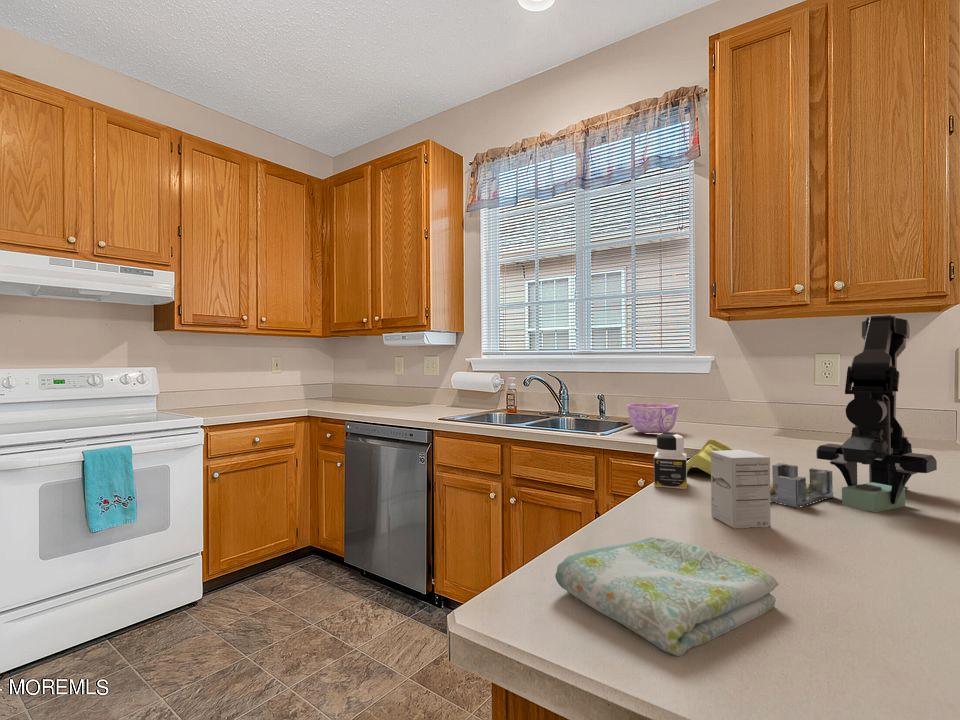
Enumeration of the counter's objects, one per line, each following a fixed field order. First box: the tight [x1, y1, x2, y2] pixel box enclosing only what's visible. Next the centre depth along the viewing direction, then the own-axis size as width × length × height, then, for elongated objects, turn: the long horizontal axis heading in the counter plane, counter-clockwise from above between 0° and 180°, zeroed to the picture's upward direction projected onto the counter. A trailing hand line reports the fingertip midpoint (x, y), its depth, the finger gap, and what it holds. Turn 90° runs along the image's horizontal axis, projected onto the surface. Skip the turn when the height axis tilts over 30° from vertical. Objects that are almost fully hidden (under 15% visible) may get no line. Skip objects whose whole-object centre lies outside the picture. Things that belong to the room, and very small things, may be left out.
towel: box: [554, 536, 779, 657], centre depth 65 cm, size 18×21×5 cm
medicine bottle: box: [653, 433, 688, 490], centre depth 124 cm, size 7×7×12 cm
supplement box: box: [710, 449, 772, 529], centre depth 95 cm, size 7×7×13 cm
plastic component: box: [687, 438, 734, 476], centre depth 138 cm, size 20×7×10 cm
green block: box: [841, 482, 906, 513], centre depth 104 cm, size 10×6×4 cm, turn 113°
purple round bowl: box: [626, 402, 680, 434], centre depth 209 cm, size 20×20×12 cm
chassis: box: [770, 462, 834, 508], centre depth 112 cm, size 15×11×6 cm
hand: (873, 500), depth 104 cm, fingers closed on green block, 6 cm apart
